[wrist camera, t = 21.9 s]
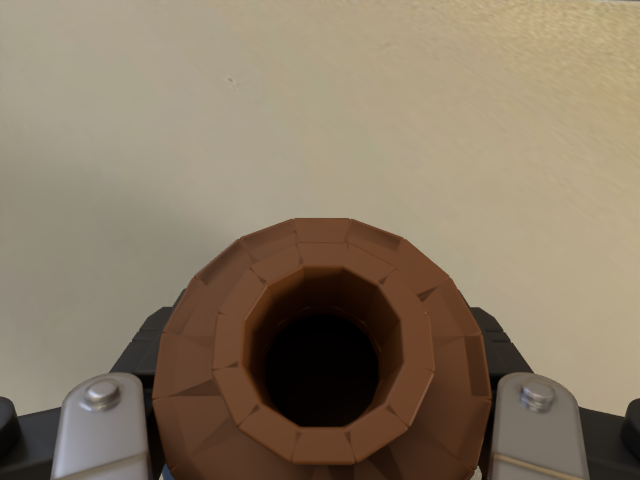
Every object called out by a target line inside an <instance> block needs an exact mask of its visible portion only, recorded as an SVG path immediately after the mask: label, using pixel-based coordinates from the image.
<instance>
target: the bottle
mask: <svg viewBox="0 0 640 480" xmlns="http://www.w3.org/2000/svg"><path fill="white" fill-rule="evenodd" d="M152 400H153V401H152V406H153V410H154V414H155V418H156V422H157V426H158V431H159V435H160V439H161V443H162V447H163V451H164V456H165V460H166V464H167V468H168V469H169V470H170V474H171V476H172V477H173V478H174V479H175V480H470V479H471V477H472V476H473V475H474V470H476V469H477V465H478V461H479V456H480V452H481V448H482V444H483V440H484V435H485V431H486V427H487V423H488V419H489V415H490V410H491V406H492V401H491V400H492V393H491V386H490V379H489V373H488V366H487V360H486V353H485V346H484V340H483V335H482V334H481V330H480V328H479V326H478V324H477V322H476V321H475V319H474V317H473V315H472V314H471V312H470V310H469V308H468V307H467V305H466V303H465V301H464V300H463V298H462V296H461V294H460V292H459V291H458V289H457V287H456V285H455V284H454V282H453V280H452V279H451V278H450V277H449V275H448V274H447V273H445V272H444V271H443V270H442V269H441V268H439V267H438V266H437V265H436V264H435V263H433V262H432V261H431V260H430V259H429V258H428V257H426V256H425V255H424V254H423V253H422V252H420V251H419V250H418V249H417V248H416V247H415V246H413V245H412V244H411V243H410V242H409V241H407V240H406V239H404V238H403V237H400V236H397V235H395V234H392V233H389V232H387V231H384V230H381V229H378V228H376V227H373V226H370V225H367V224H365V223H362V222H359V221H357V220H354V219H351V220H350V219H349V218H295V219H294V220H293V219H290V220H287V221H284V222H281V223H279V224H276V225H273V226H271V227H268V228H265V229H262V230H260V231H257V232H254V233H251V234H249V235H246V236H243V237H241V238H240V239H237V240H236V241H235V242H234V243H233V244H231V245H230V246H229V247H228V248H227V249H225V250H224V251H223V252H222V253H221V254H219V255H218V256H217V257H216V258H215V259H214V260H212V261H211V262H210V263H209V264H208V265H206V266H205V267H204V268H203V269H202V270H201V271H199V272H198V273H197V274H196V275H195V276H194V278H192V279H191V281H190V283H189V285H188V287H187V288H186V290H185V292H184V294H183V295H182V297H181V299H180V301H179V302H178V304H177V306H176V308H175V310H174V311H173V313H172V315H171V317H170V318H169V320H168V322H167V324H166V326H165V327H164V329H163V333H162V334H161V339H160V345H159V352H158V359H157V365H156V372H155V379H154V386H153V392H152Z"/></svg>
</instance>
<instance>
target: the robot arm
mask: <svg viewBox="0 0 640 480" xmlns="http://www.w3.org/2000/svg"><path fill="white" fill-rule="evenodd" d="M185 290H186V289H184V290H183V291H182V293H181V294H180V296H179V297H178V299H177V301H176V302H175V304H174V305H173V307H162V308H161V309H159V310H158V311H157V312H155V313H154V314H152V315H151V316H149V317H148V318H147V319H146V321H145V322H144V324H143V325H142V326H141V328H140V329H139V332H137V334H136V335H135V336H134V338H133V339H132V342H130V344H129V345H128V346H127V348H126V349H125V351H124V352H123V353H122V355H121V356H120V358H119V359H118V361H117V362H116V363H115V365H114V366H113V368H112V369H111V371H110V372H109V373H107V374H102V375H99V376H96V377H93V378H91V379H88V380H86V381H84V382H83V383H81V384H79V385H78V386H76V387H75V388H74V389H73V390H72V391H70V392H69V393H68V395H67V396H66V397H65V399H64V401H63V404H62V407H59V408H55V409H50V410H46V411H41V412H36V413H32V414H27V415H23V416H18V417H17V414H16V411H15V407H14V405H13V403H12V401H11V400H9V399H7V398H5V397H0V480H159V478H160V475H161V473H162V470H163V468H164V465H167V464H166V460H165V456H164V451H163V447H162V443H161V439H160V435H159V431H158V426H157V422H156V418H155V414H154V410H153V406H152V401H153V400H152V392H153V386H154V379H155V372H156V365H157V359H158V352H159V345H160V339H161V334H162V333H163V329H164V327H165V326H166V324H167V322H168V320H169V318H170V317H171V315H172V313H173V311H174V310H175V308H176V306H177V304H178V302H179V301H180V299H181V297H182V295H183V294H184V292H185ZM458 291H459V290H458ZM459 292H460V291H459ZM460 294H461V292H460ZM461 296H462V298H463V300H464V301H465V303H466V305H467V307H468V308H469V310H470V312H471V314H472V315H473V317H474V319H475V321H476V322H477V324H478V326H479V328H480V330H481V334H482V335H483V340H484V346H485V353H486V360H487V366H488V373H489V379H490V386H491V393H492V400H491V401H492V406H491V410H490V415H489V419H488V423H487V427H486V431H485V435H484V440H483V444H482V448H481V452H480V456H479V461H478V465H477V466H479V468H480V470H481V473H482V479H481V480H640V398H639V399H635V400H633V401H632V402H631V403H629V405H628V408H627V411H626V414H625V417H622V416H617V415H612V414H608V413H603V412H598V411H594V410H589V409H585V408H582V407H579V406H578V404H577V401H576V399H575V397H574V396H573V395H572V393H571V392H570V391H568V390H567V389H566V388H565V387H564V386H562V385H561V384H559V383H557V382H556V381H554V380H552V379H549V378H547V377H544V376H541V375H538V374H534V372H533V371H532V369H531V368H530V367H529V365H528V364H527V362H526V361H525V360H524V358H523V357H522V355H521V354H520V353H519V351H518V350H517V348H516V347H515V346H514V344H513V343H511V340H510V339H509V337H508V336H507V334H506V333H505V332H503V329H502V327H501V326H500V325H499V323H498V322H497V320H496V319H495V318H494V317H493V316H491V315H490V314H488V313H487V312H485V311H484V310H482V309H481V308H479V307H470V306H469V305H468V303H467V302H466V300H465V299H464V297H463V295H462V294H461Z"/></svg>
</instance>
